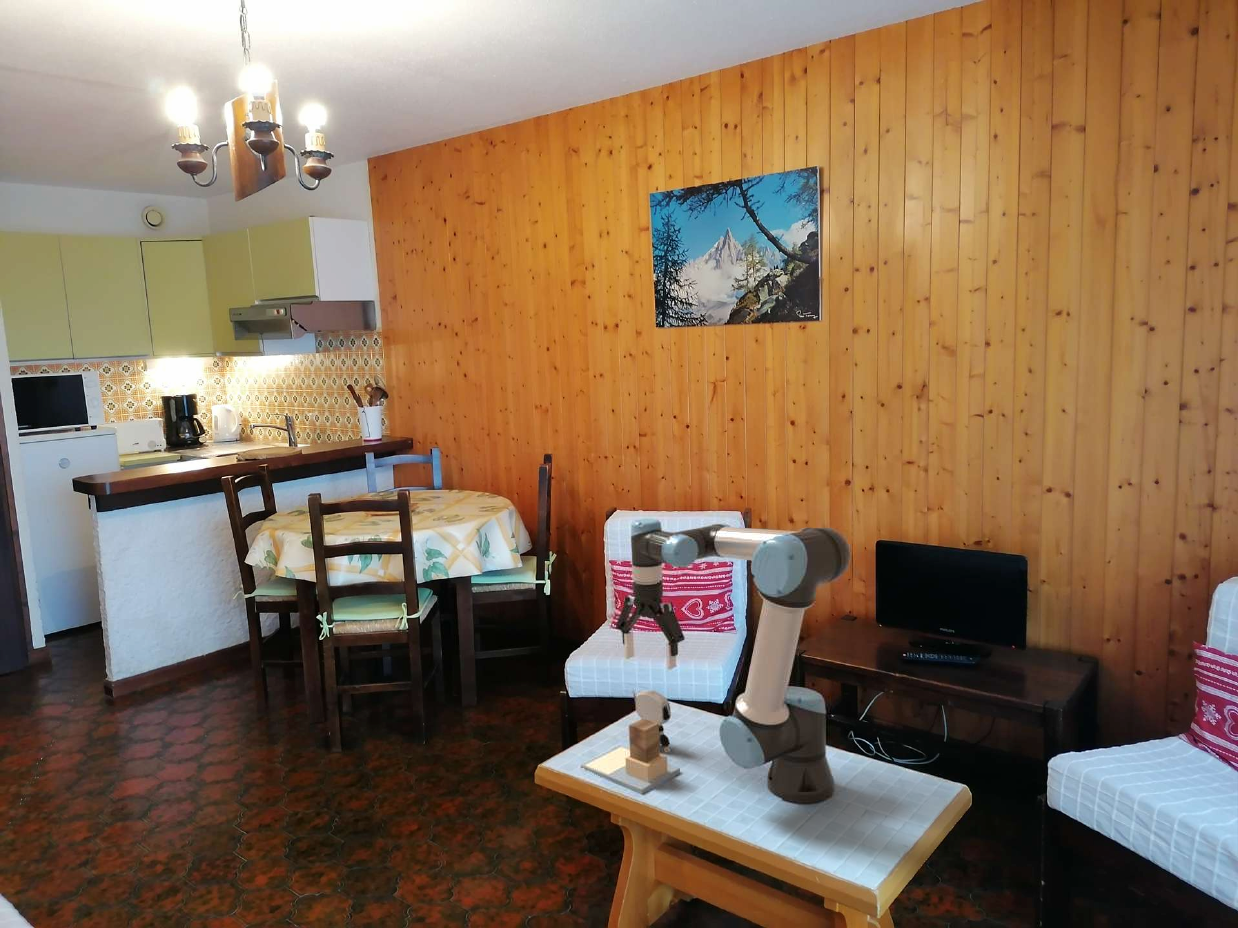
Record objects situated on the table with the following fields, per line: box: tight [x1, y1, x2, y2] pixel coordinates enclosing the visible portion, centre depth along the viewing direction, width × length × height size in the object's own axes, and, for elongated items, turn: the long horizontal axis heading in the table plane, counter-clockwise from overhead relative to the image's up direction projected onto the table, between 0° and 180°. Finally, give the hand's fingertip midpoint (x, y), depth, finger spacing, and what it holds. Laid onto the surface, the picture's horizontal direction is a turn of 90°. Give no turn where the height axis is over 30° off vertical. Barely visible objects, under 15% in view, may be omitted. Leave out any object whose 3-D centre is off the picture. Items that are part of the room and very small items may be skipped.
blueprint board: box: [580, 745, 681, 795], centre depth 213 cm, size 20×14×5 cm
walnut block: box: [628, 718, 661, 763], centre depth 209 cm, size 5×5×8 cm
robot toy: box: [631, 689, 672, 753], centre depth 225 cm, size 12×4×15 cm, turn 44°
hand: (650, 662), depth 222 cm, fingers open, 13 cm apart
